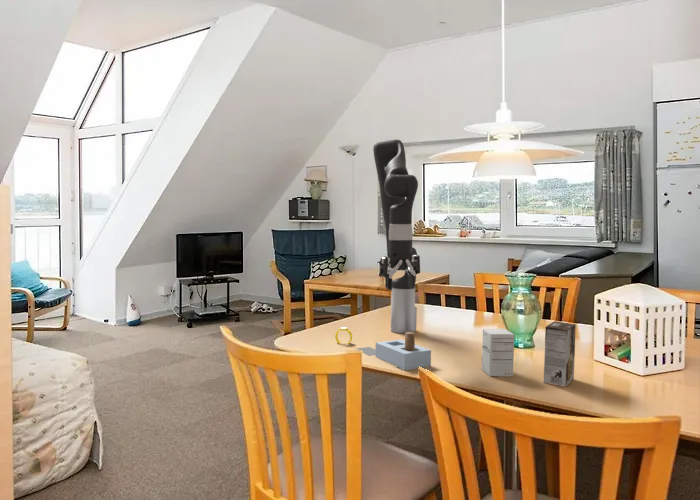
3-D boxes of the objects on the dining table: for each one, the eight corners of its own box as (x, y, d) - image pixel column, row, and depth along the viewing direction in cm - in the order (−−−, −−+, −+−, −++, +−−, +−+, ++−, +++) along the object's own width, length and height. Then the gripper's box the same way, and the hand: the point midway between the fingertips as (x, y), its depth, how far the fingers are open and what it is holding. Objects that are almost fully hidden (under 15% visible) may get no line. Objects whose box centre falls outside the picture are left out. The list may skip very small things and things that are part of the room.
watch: (334, 345, 202) (333, 328, 202) (337, 343, 205) (336, 326, 204) (350, 345, 200) (349, 328, 200) (353, 343, 203) (352, 327, 202)
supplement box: (480, 369, 172) (482, 328, 171) (504, 369, 173) (506, 328, 172) (488, 377, 165) (490, 333, 164) (513, 376, 166) (515, 333, 165)
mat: (369, 347, 197) (369, 346, 197) (384, 354, 189) (384, 353, 189) (354, 349, 194) (354, 348, 194) (369, 356, 186) (369, 355, 186)
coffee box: (551, 375, 167) (553, 320, 166) (574, 379, 164) (576, 323, 163) (542, 382, 160) (544, 326, 159) (566, 387, 156) (568, 329, 155)
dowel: (410, 363, 178) (411, 331, 178) (416, 365, 176) (416, 333, 175) (402, 364, 177) (403, 332, 176) (408, 366, 174) (408, 334, 174)
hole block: (400, 354, 189) (401, 339, 189) (430, 366, 175) (431, 350, 175) (375, 357, 184) (375, 342, 184) (404, 370, 171) (404, 353, 170)
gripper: (411, 236, 188) (410, 285, 189) (375, 238, 180) (375, 288, 182) (425, 238, 181) (425, 288, 183) (389, 240, 174) (388, 292, 176)
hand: (400, 288), depth 183 cm, fingers open, 8 cm apart
